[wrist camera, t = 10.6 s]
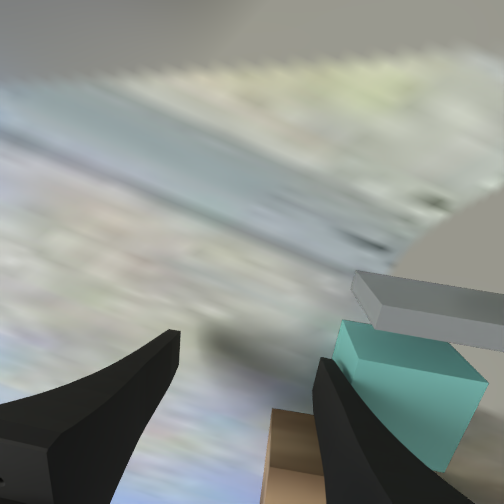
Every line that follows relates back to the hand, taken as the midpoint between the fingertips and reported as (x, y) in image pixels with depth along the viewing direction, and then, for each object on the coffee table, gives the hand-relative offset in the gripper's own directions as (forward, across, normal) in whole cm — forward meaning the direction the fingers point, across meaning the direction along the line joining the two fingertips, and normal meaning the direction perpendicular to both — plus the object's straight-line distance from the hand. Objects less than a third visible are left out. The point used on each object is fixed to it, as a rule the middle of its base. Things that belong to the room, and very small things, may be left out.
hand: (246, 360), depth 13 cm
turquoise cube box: (+2, -7, 0) cm, 7 cm away
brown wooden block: (+2, -4, +10) cm, 11 cm away
